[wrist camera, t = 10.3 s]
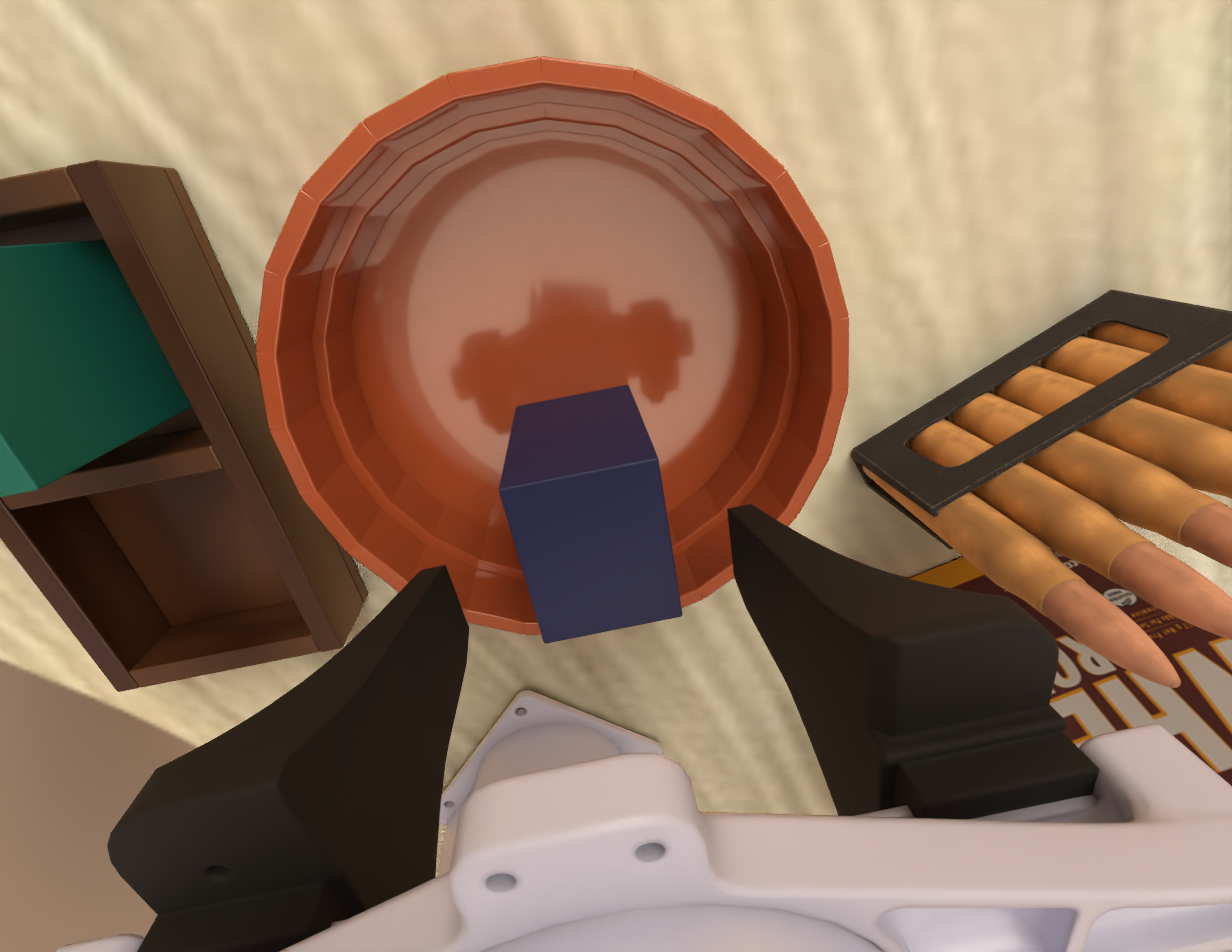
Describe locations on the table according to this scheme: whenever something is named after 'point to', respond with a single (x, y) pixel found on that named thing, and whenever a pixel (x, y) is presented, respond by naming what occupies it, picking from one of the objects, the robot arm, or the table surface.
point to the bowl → (546, 317)
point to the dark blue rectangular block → (589, 515)
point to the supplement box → (1116, 698)
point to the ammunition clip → (1083, 469)
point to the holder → (174, 465)
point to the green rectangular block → (73, 363)
